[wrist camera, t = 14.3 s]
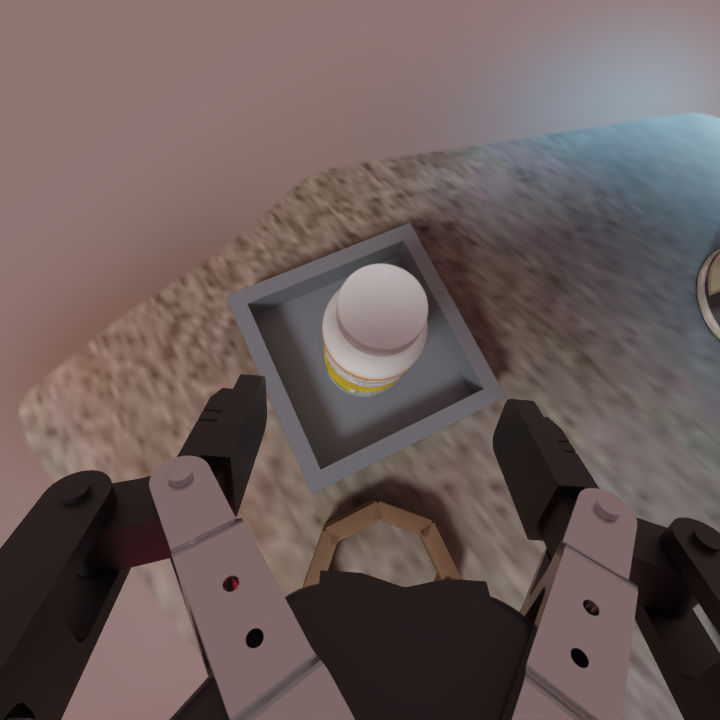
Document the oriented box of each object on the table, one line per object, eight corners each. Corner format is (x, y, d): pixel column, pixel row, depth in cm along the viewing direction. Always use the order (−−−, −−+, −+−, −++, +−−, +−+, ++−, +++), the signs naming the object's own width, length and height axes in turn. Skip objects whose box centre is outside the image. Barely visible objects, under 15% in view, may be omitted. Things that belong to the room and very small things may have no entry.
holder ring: (409, 479, 25) (414, 481, 24) (473, 611, 24) (482, 622, 22) (286, 543, 24) (284, 549, 22) (346, 687, 22) (347, 704, 21)
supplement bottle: (366, 414, 25) (387, 393, 16) (307, 358, 25) (293, 306, 16) (419, 356, 26) (468, 304, 17) (362, 304, 27) (378, 226, 17)
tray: (402, 245, 29) (410, 222, 26) (486, 402, 27) (505, 396, 24) (237, 312, 27) (226, 295, 24) (314, 488, 24) (311, 494, 22)
